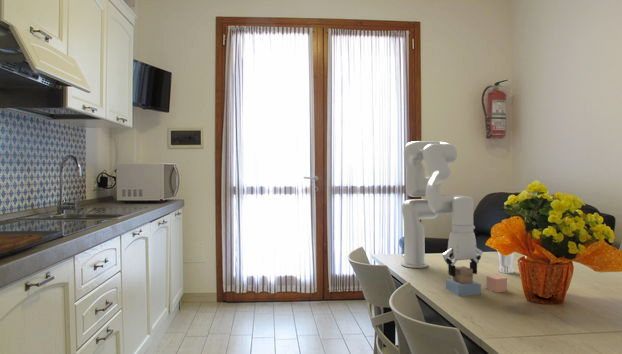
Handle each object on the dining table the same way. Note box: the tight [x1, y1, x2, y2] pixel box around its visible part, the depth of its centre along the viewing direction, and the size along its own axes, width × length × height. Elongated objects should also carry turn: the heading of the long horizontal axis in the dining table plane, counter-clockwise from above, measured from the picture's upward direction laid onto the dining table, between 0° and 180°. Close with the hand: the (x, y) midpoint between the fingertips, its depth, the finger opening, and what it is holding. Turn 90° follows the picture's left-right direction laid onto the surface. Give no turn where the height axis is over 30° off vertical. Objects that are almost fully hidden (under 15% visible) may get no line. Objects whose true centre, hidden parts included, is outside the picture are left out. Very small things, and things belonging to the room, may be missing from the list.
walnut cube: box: [452, 266, 474, 284], centre depth 151 cm, size 5×5×5 cm
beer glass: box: [497, 251, 515, 274], centre depth 179 cm, size 7×7×15 cm
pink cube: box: [486, 274, 508, 293], centre depth 152 cm, size 5×5×5 cm
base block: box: [445, 278, 482, 296], centre depth 151 cm, size 9×9×4 cm
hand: (462, 274), depth 151 cm, fingers open, 9 cm apart
